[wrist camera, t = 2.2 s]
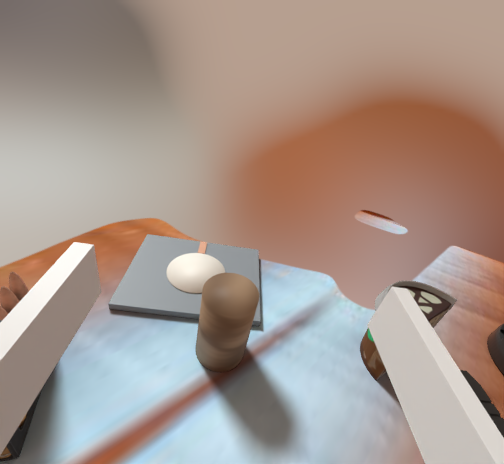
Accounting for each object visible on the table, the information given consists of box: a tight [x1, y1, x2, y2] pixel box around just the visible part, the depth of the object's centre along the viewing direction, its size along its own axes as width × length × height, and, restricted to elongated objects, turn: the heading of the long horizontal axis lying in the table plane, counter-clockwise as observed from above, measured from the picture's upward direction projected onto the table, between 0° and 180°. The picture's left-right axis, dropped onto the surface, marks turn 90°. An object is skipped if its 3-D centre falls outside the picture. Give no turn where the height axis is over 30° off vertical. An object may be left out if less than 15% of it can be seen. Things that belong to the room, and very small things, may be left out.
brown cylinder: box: [196, 273, 259, 372], centre depth 32 cm, size 6×6×10 cm
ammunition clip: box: [0, 272, 42, 461], centre depth 24 cm, size 11×2×12 cm, turn 14°
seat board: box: [109, 234, 260, 326], centre depth 44 cm, size 20×16×1 cm
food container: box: [360, 281, 457, 380], centre depth 36 cm, size 12×6×10 cm, turn 123°
